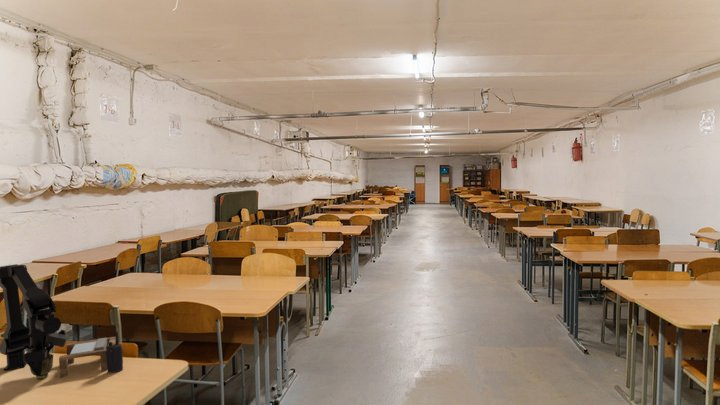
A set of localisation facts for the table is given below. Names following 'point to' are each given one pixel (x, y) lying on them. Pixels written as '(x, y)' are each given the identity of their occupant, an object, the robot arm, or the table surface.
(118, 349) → the two-way radio
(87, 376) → the table surface
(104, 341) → the trapdoor
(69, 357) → the frame
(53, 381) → the table surface
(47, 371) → the brass rounded piece
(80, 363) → the table surface
